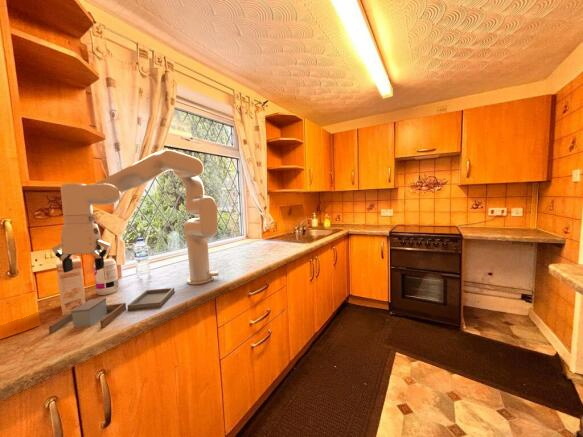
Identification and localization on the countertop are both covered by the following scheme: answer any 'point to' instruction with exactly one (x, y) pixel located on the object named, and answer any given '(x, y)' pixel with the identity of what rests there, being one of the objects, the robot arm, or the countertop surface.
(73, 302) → the coffeecake box
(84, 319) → the grey rectangular box
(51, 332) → the frame
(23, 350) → the countertop surface
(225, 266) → the countertop surface
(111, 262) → the supplement can
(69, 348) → the countertop surface
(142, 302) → the tray
